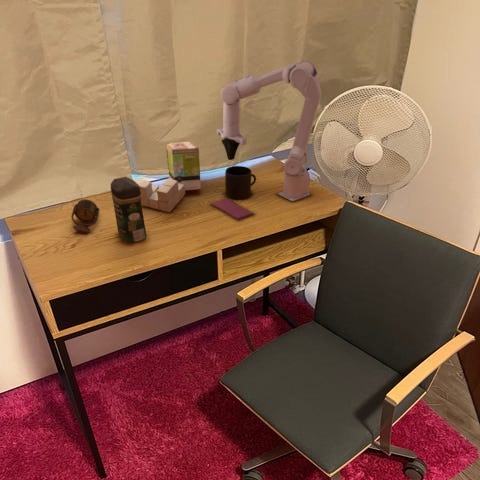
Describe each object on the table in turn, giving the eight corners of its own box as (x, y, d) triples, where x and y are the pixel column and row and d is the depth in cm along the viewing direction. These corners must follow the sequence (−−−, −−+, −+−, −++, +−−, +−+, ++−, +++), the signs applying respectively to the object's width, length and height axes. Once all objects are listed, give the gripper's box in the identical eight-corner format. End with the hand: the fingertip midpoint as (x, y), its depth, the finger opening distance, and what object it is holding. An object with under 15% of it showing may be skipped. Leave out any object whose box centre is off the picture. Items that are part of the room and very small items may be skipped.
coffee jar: (115, 233, 153) (105, 177, 141) (138, 227, 156) (131, 172, 144) (125, 246, 146) (116, 189, 135) (149, 240, 150) (143, 184, 138)
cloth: (226, 199, 173) (226, 197, 173) (253, 214, 165) (253, 212, 164) (211, 205, 170) (211, 203, 169) (238, 220, 161) (238, 218, 161)
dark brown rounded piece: (108, 203, 157) (82, 192, 158) (86, 216, 147) (58, 205, 148) (107, 222, 162) (81, 212, 163) (85, 237, 152) (58, 225, 153)
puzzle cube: (185, 194, 172) (183, 174, 166) (169, 212, 165) (166, 193, 159) (156, 186, 175) (153, 167, 169) (139, 204, 168) (135, 185, 162)
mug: (261, 196, 176) (262, 172, 170) (231, 201, 172) (232, 177, 166) (249, 186, 183) (250, 163, 177) (221, 191, 179) (221, 168, 173)
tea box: (202, 189, 174) (199, 146, 167) (174, 192, 172) (170, 149, 165) (194, 179, 187) (191, 140, 179) (168, 182, 185) (164, 142, 177)
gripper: (209, 118, 170) (210, 155, 178) (235, 128, 161) (235, 167, 170) (225, 114, 173) (225, 151, 182) (251, 124, 165) (250, 163, 173)
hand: (231, 159), depth 176 cm, fingers closed
